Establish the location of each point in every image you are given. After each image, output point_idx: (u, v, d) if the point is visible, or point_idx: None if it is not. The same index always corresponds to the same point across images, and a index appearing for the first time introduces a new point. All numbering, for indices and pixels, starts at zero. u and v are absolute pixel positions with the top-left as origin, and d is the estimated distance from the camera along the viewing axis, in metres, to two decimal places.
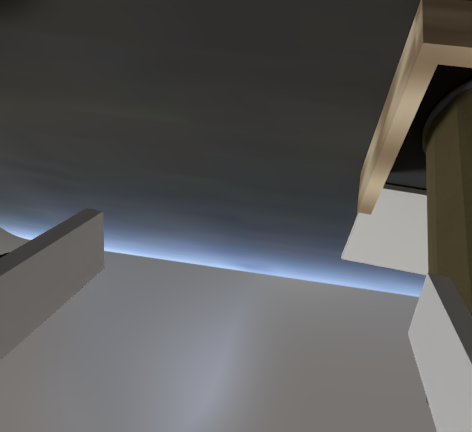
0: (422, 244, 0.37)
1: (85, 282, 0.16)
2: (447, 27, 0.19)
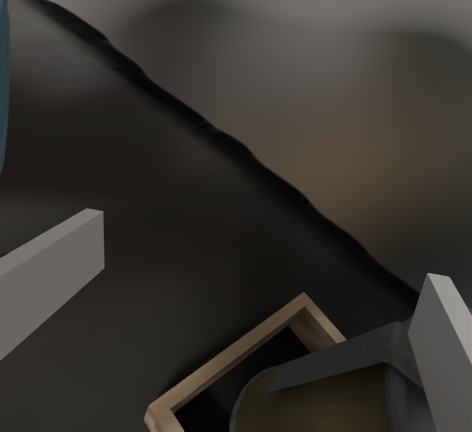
0: None
1: (85, 282, 0.16)
2: None
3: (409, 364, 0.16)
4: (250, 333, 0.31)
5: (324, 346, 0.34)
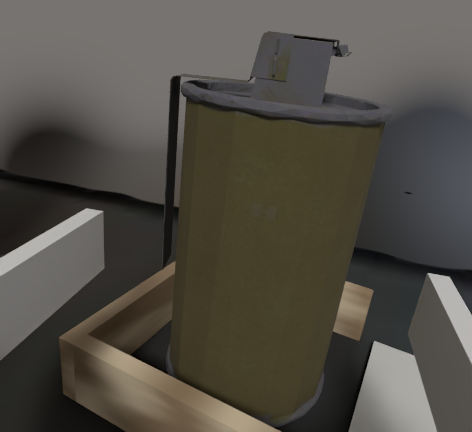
0: None
1: (85, 282, 0.16)
2: None
3: (192, 76, 0.20)
4: (165, 269, 0.29)
5: None
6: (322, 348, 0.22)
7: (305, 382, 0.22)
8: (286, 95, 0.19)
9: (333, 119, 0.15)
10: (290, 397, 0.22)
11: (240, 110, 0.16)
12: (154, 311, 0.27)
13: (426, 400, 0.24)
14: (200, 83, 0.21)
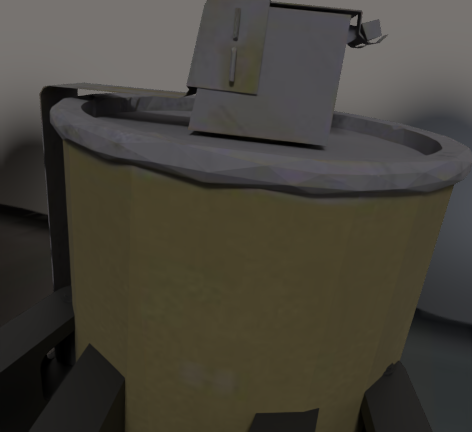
0: None
1: None
2: None
3: (85, 87, 0.10)
4: None
5: None
6: None
7: None
8: (258, 121, 0.09)
9: (362, 187, 0.06)
10: None
11: (140, 164, 0.07)
12: None
13: None
14: (110, 99, 0.12)
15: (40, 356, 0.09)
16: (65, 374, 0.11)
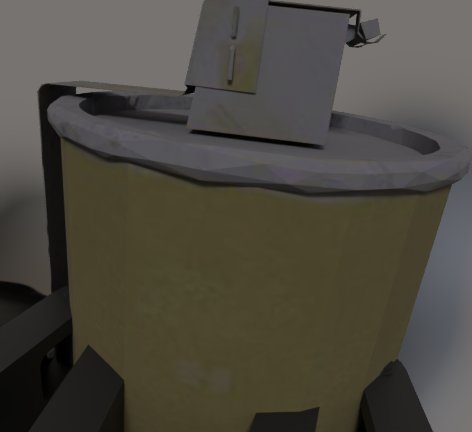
0: None
1: None
2: None
3: (83, 85, 0.10)
4: None
5: None
6: None
7: None
8: (257, 120, 0.09)
9: (359, 186, 0.06)
10: None
11: (138, 162, 0.07)
12: None
13: None
14: (109, 97, 0.12)
15: (39, 356, 0.09)
16: (65, 374, 0.11)
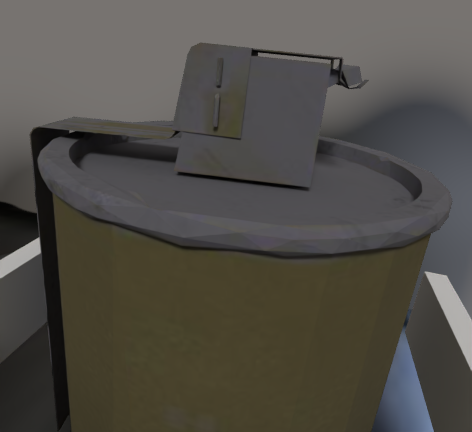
0: None
1: None
2: None
3: (74, 126, 0.11)
4: None
5: None
6: None
7: None
8: (243, 164, 0.10)
9: (334, 249, 0.07)
10: None
11: (121, 223, 0.07)
12: None
13: None
14: (101, 133, 0.12)
15: None
16: None
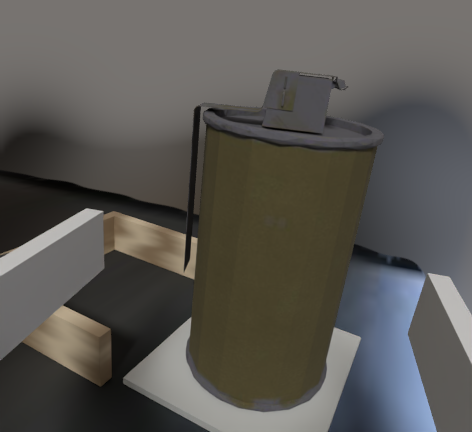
0: None
1: (85, 282, 0.16)
2: None
3: (212, 106, 0.23)
4: None
5: (139, 239, 0.41)
6: (324, 340, 0.25)
7: (310, 370, 0.25)
8: (293, 122, 0.22)
9: (333, 146, 0.19)
10: (297, 383, 0.25)
11: (256, 138, 0.19)
12: None
13: None
14: (218, 110, 0.24)
15: None
16: None
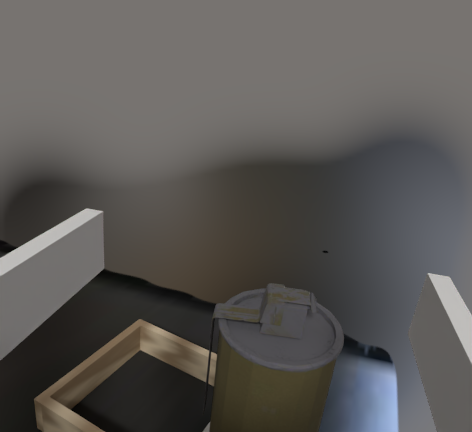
0: None
1: (85, 282, 0.16)
2: None
3: (225, 314, 0.33)
4: (103, 347, 0.47)
5: (161, 346, 0.51)
6: None
7: None
8: (281, 332, 0.32)
9: (306, 369, 0.29)
10: None
11: (255, 362, 0.29)
12: (94, 375, 0.46)
13: None
14: None
15: None
16: None
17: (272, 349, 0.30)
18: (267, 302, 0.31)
